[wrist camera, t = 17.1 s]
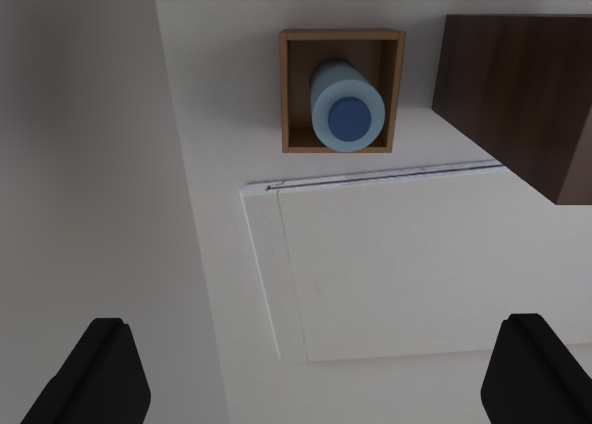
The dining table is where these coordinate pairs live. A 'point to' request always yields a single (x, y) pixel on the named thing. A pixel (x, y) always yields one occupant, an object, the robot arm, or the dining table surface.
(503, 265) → the dining table surface
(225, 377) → the dining table surface
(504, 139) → the plinth
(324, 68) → the bottle
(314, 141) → the open wooden box
